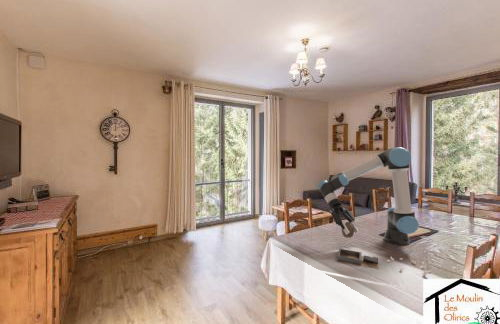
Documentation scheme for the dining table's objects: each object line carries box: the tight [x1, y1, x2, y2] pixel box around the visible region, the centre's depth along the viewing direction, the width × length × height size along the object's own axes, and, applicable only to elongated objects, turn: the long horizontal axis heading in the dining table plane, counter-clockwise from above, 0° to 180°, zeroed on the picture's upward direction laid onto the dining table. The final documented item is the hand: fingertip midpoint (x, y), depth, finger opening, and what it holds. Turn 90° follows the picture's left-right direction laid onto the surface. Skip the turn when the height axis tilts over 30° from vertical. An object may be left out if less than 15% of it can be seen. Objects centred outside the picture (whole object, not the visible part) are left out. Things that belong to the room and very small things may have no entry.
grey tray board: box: [336, 248, 379, 266], centre depth 134 cm, size 20×12×3 cm, turn 65°
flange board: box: [337, 254, 379, 270], centre depth 134 cm, size 20×14×1 cm
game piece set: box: [386, 256, 432, 277], centre depth 128 cm, size 19×20×4 cm
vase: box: [341, 221, 355, 239], centre depth 149 cm, size 7×7×9 cm
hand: (352, 232), depth 146 cm, fingers closed on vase, 7 cm apart
